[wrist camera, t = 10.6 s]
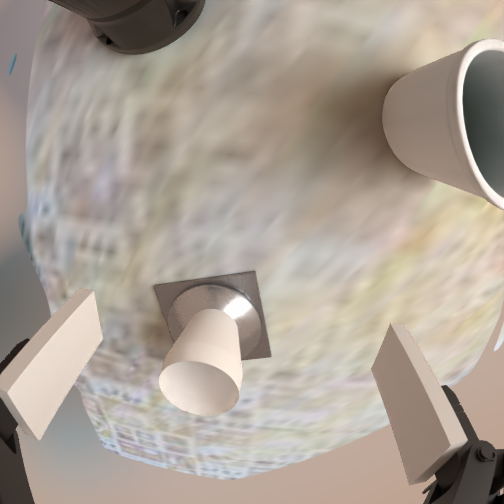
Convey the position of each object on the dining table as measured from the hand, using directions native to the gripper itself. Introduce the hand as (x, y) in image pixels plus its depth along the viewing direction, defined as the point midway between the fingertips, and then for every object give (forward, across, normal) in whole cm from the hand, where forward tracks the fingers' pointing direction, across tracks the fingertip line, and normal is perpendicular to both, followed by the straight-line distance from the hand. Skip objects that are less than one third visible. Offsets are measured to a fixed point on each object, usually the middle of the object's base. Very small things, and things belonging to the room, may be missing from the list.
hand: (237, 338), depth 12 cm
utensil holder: (+26, +20, +14) cm, 35 cm away
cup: (+23, -4, -17) cm, 29 cm away
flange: (+25, -4, -17) cm, 30 cm away
